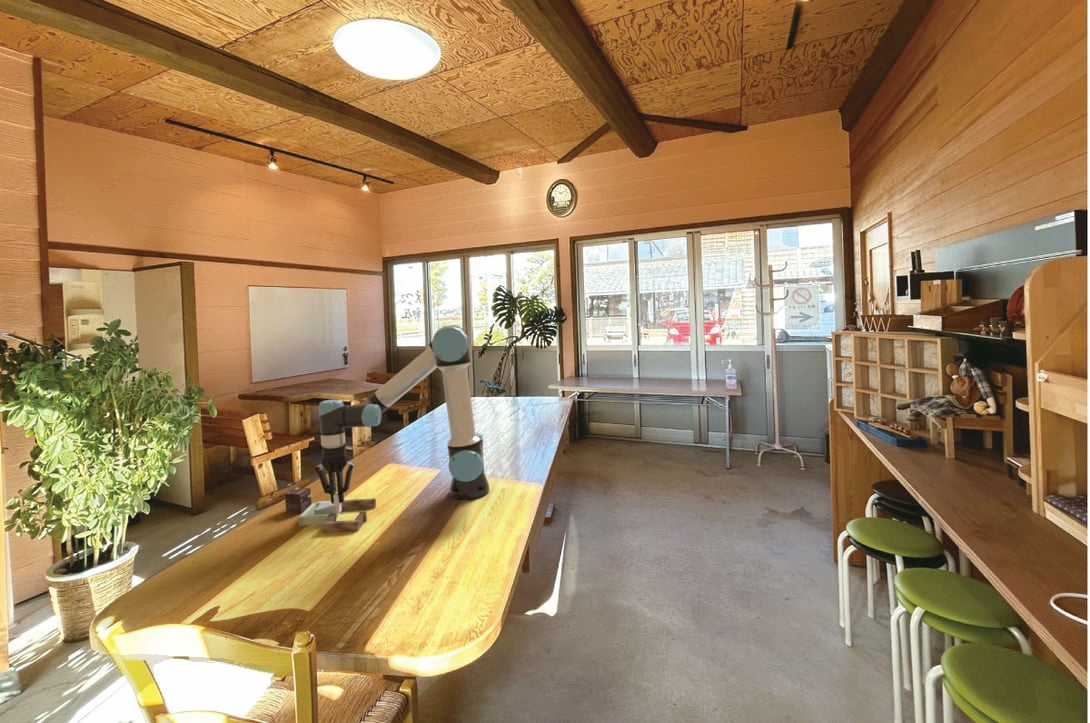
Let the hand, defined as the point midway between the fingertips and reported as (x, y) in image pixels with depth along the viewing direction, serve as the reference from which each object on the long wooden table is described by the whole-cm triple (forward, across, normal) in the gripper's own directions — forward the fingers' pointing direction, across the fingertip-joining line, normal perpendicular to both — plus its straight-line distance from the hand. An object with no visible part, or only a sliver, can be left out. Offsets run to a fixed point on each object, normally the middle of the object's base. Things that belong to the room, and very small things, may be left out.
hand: (338, 511), depth 161 cm
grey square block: (+2, +4, 0) cm, 4 cm away
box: (+2, +16, -7) cm, 18 cm away
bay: (+1, +5, 0) cm, 5 cm away
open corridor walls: (+1, -5, +3) cm, 6 cm away
